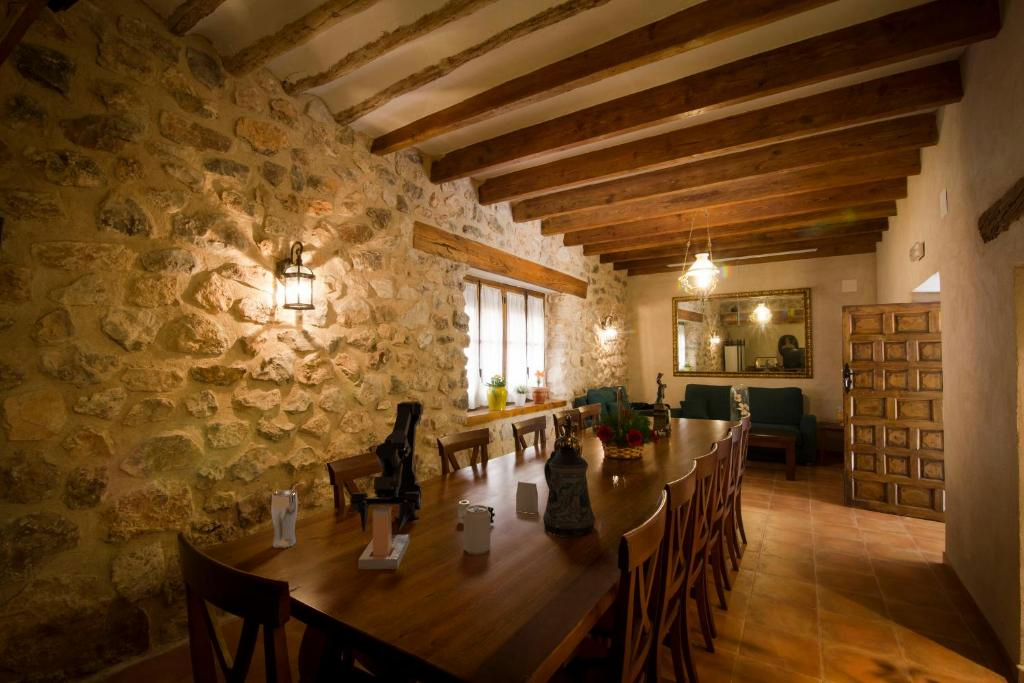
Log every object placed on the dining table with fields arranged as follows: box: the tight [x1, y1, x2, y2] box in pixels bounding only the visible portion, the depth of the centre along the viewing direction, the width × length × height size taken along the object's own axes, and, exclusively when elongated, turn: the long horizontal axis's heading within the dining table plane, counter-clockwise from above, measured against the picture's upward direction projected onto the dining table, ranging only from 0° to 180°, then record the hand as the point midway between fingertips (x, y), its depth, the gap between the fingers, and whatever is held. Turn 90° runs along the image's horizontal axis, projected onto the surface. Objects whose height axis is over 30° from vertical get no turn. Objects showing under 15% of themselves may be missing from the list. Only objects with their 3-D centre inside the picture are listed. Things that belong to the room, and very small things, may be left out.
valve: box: [457, 500, 496, 527], centre depth 157 cm, size 7×7×12 cm
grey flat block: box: [357, 534, 410, 570], centre depth 133 cm, size 16×10×3 cm, turn 1°
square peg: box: [372, 505, 393, 557], centre depth 130 cm, size 4×4×14 cm
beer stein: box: [542, 446, 596, 538], centre depth 154 cm, size 16×19×25 cm
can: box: [463, 504, 491, 556], centre depth 137 cm, size 8×8×12 cm
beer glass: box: [271, 489, 299, 549], centre depth 141 cm, size 7×7×15 cm
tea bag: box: [515, 481, 539, 515], centre depth 169 cm, size 4×7×10 cm, turn 67°
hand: (380, 531), depth 128 cm, fingers open, 9 cm apart
